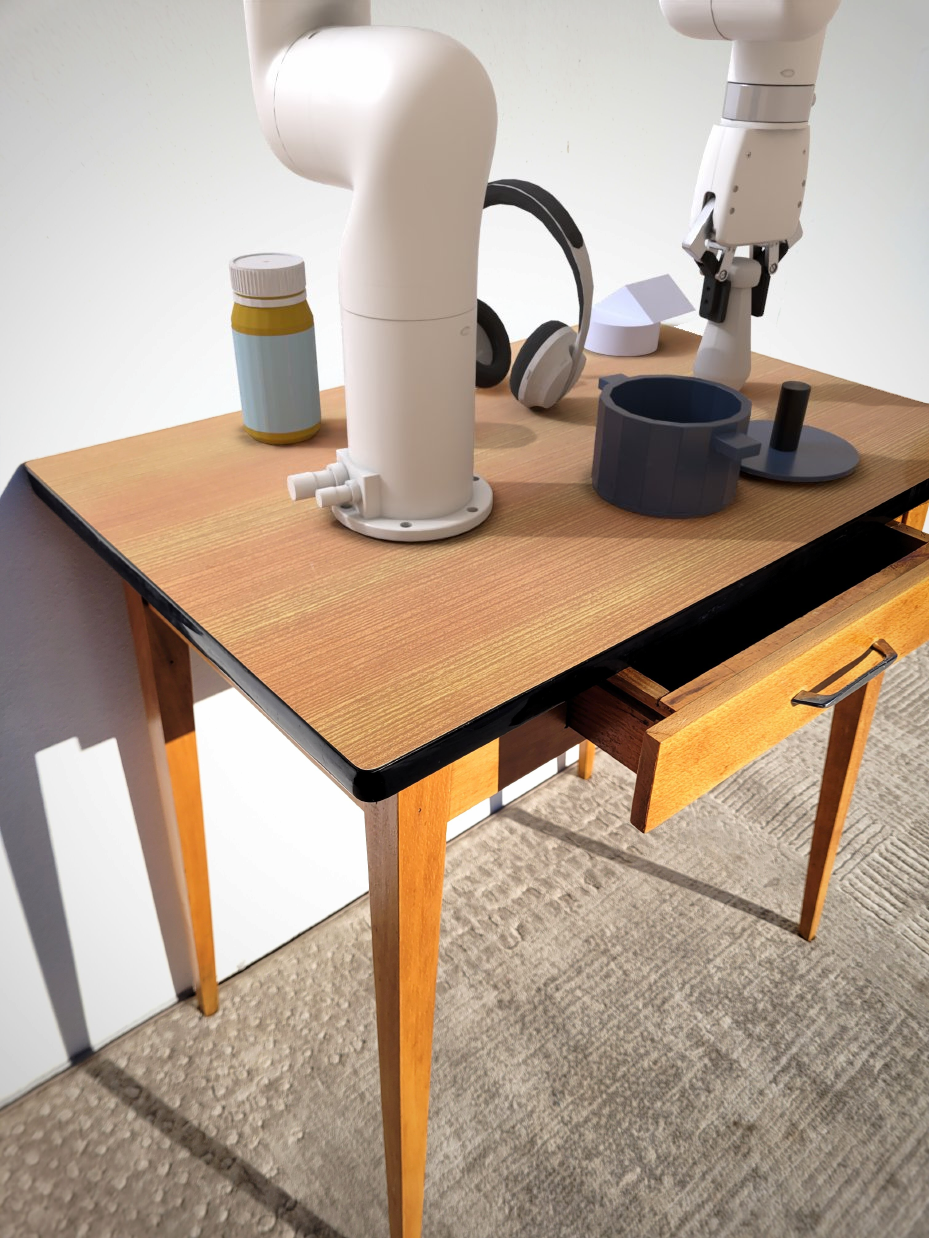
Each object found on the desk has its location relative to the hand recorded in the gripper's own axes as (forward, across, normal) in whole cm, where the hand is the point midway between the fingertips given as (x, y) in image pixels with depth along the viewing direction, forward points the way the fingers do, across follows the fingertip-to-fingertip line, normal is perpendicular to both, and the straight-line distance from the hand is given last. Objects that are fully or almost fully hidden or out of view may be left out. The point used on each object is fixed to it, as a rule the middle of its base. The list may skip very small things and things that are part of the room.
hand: (730, 314), depth 91 cm
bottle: (+8, +44, -9) cm, 46 cm away
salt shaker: (+8, 0, 0) cm, 8 cm away
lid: (+7, +7, +16) cm, 19 cm away
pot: (+8, +20, +16) cm, 27 cm away
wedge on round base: (+8, -2, -18) cm, 20 cm away
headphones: (+8, +21, -8) cm, 24 cm away
